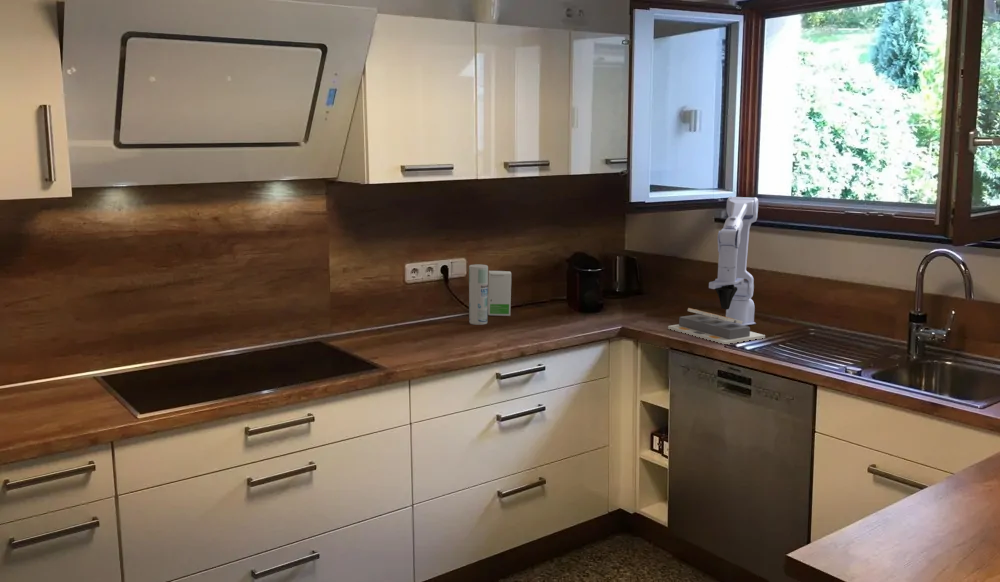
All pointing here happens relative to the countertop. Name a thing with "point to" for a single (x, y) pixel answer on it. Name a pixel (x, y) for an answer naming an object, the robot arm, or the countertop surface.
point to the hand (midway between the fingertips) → (725, 308)
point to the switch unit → (714, 329)
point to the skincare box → (499, 293)
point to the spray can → (478, 294)
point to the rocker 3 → (730, 319)
